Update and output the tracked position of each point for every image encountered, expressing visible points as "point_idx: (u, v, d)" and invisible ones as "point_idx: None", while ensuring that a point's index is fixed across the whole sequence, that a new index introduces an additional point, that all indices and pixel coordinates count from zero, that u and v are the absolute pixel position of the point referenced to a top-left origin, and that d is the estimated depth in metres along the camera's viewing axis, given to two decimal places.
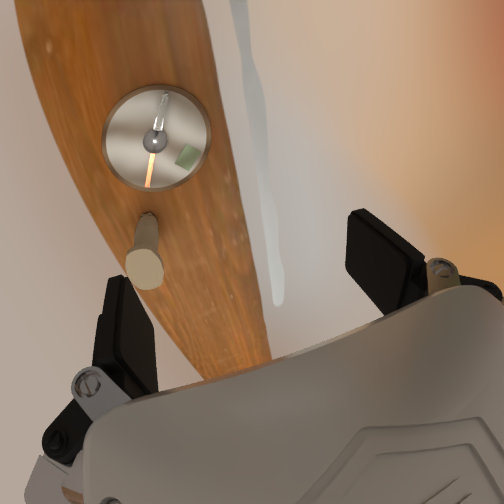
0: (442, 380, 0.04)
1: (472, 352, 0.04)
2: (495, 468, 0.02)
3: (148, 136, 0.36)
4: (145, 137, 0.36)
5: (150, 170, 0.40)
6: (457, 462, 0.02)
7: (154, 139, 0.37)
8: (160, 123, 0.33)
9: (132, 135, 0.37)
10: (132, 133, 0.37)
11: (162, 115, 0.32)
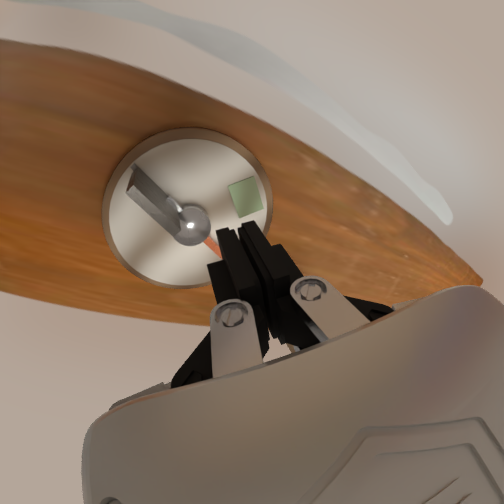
0: (442, 380, 0.04)
1: (472, 352, 0.04)
2: (495, 468, 0.02)
3: None
4: (175, 236, 0.25)
5: None
6: (457, 462, 0.02)
7: (187, 227, 0.25)
8: (170, 223, 0.20)
9: (161, 243, 0.27)
10: (158, 241, 0.27)
11: (160, 213, 0.20)
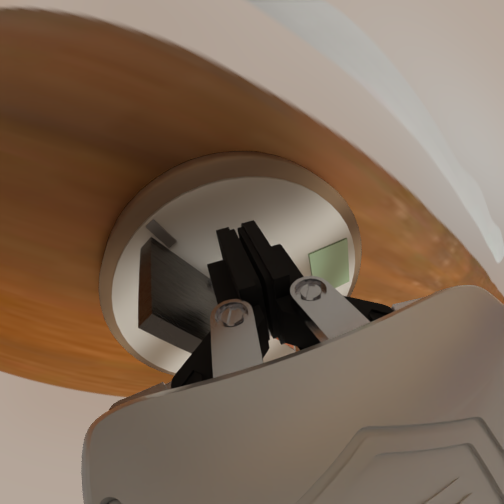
0: (442, 380, 0.04)
1: (472, 352, 0.04)
2: (495, 468, 0.02)
3: None
4: None
5: None
6: (457, 462, 0.02)
7: None
8: None
9: None
10: None
11: None
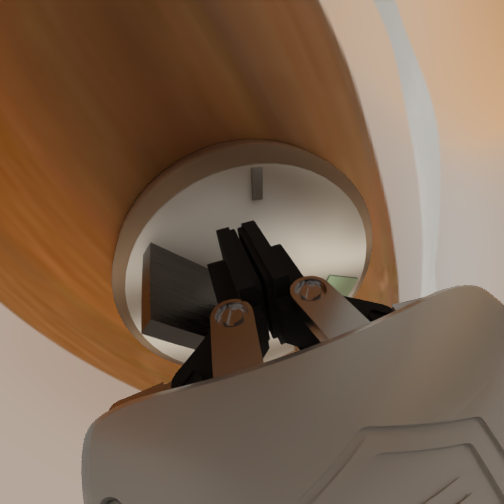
0: (442, 380, 0.04)
1: (472, 352, 0.04)
2: (495, 468, 0.02)
3: None
4: None
5: None
6: (457, 462, 0.02)
7: None
8: None
9: None
10: None
11: None
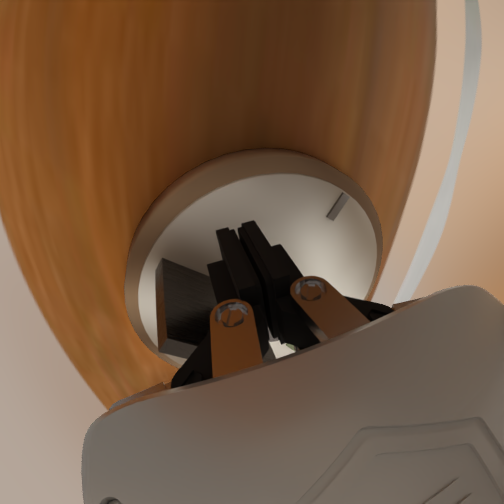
0: (442, 380, 0.04)
1: (472, 352, 0.04)
2: (495, 468, 0.02)
3: None
4: None
5: None
6: (457, 462, 0.02)
7: None
8: None
9: None
10: None
11: None
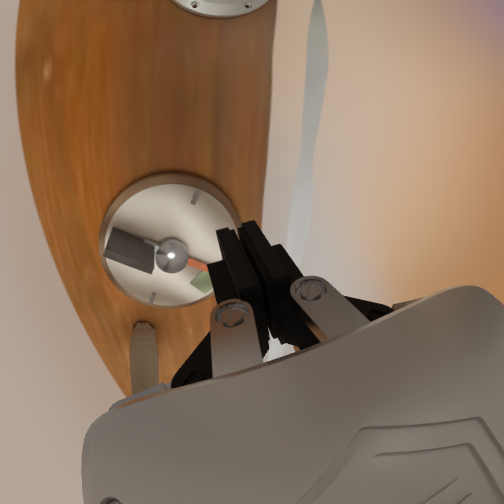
0: (442, 380, 0.04)
1: (472, 352, 0.04)
2: (495, 468, 0.02)
3: (162, 265, 0.30)
4: (162, 268, 0.30)
5: None
6: (457, 462, 0.02)
7: (168, 259, 0.30)
8: (144, 265, 0.25)
9: None
10: (142, 237, 0.30)
11: (133, 261, 0.25)
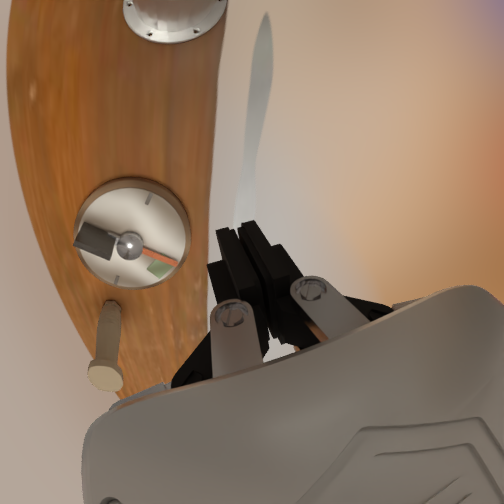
0: (442, 380, 0.04)
1: (472, 352, 0.04)
2: (495, 468, 0.02)
3: (121, 253, 0.35)
4: (122, 256, 0.35)
5: (160, 257, 0.38)
6: (457, 462, 0.02)
7: (126, 248, 0.35)
8: (103, 254, 0.31)
9: None
10: (107, 230, 0.35)
11: (95, 250, 0.30)
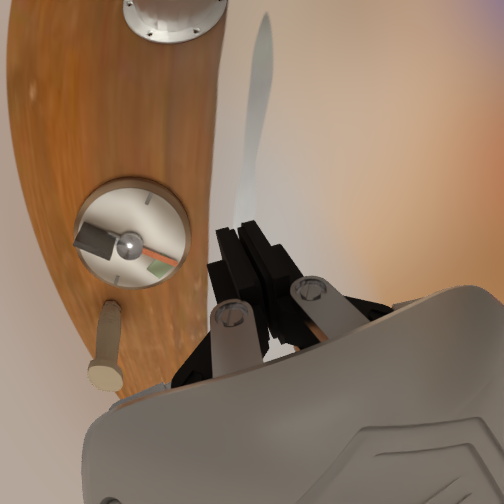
0: (442, 380, 0.04)
1: (472, 352, 0.04)
2: (495, 468, 0.02)
3: (121, 253, 0.35)
4: (122, 256, 0.35)
5: (160, 257, 0.38)
6: (457, 462, 0.02)
7: (126, 248, 0.35)
8: (103, 254, 0.31)
9: None
10: (107, 230, 0.35)
11: (95, 250, 0.30)
